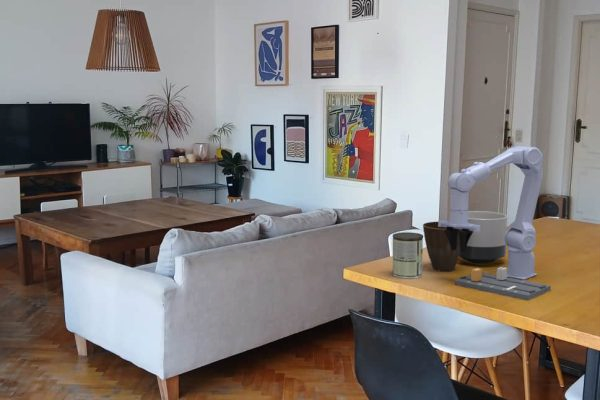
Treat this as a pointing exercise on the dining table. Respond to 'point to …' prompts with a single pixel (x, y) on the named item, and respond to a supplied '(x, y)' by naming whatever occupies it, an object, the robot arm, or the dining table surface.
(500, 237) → the planter
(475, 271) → the orange fader knob
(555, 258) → the dining table surface
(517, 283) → the console
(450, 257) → the plant pot
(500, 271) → the grey fader knob
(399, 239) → the coffee can
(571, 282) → the dining table surface
